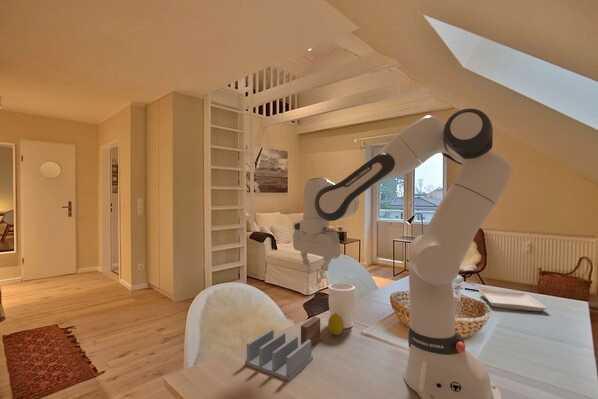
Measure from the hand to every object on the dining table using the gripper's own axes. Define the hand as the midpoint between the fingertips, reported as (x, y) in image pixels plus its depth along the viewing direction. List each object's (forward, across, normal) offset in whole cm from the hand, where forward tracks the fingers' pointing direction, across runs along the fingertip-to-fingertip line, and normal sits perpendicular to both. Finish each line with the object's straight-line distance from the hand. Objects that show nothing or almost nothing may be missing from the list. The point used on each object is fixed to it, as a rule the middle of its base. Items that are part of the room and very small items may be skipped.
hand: (314, 267), depth 101 cm
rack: (+27, -1, +14) cm, 30 cm away
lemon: (+26, +1, -12) cm, 29 cm away
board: (+26, +1, 0) cm, 27 cm away
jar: (+26, +6, -20) cm, 34 cm away
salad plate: (+25, -27, -98) cm, 104 cm away
